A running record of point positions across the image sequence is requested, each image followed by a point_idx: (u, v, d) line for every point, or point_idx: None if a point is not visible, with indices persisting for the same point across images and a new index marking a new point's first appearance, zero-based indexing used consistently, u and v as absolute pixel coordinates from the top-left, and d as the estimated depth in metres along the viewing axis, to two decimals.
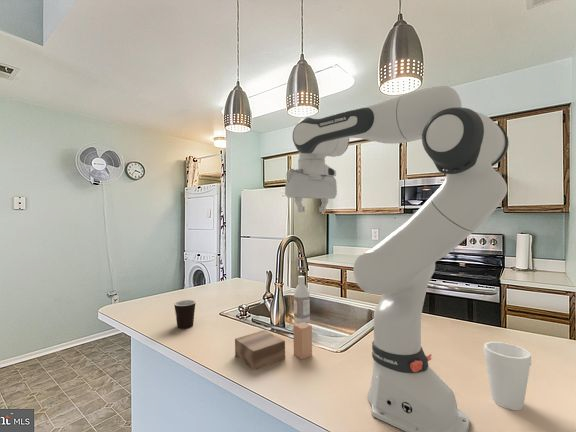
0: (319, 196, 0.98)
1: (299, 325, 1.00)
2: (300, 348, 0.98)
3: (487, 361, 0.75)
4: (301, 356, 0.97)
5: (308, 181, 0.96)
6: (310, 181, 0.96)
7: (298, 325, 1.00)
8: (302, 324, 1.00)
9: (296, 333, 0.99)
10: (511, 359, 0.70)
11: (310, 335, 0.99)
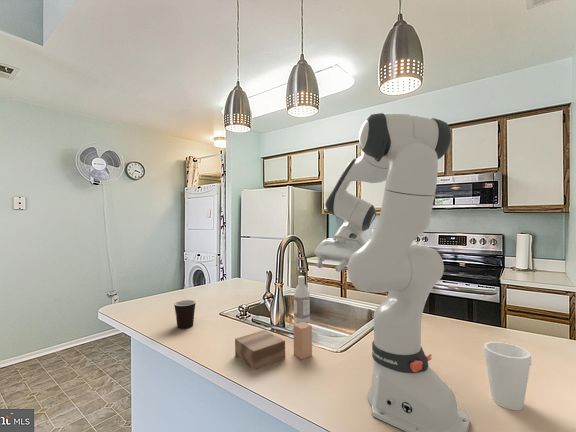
0: (335, 255, 1.08)
1: (299, 325, 1.00)
2: (300, 348, 0.98)
3: (487, 361, 0.75)
4: (301, 356, 0.97)
5: (332, 244, 1.13)
6: (334, 244, 1.13)
7: (298, 325, 1.00)
8: (302, 324, 1.00)
9: (296, 333, 0.99)
10: (511, 359, 0.70)
11: (310, 335, 0.99)
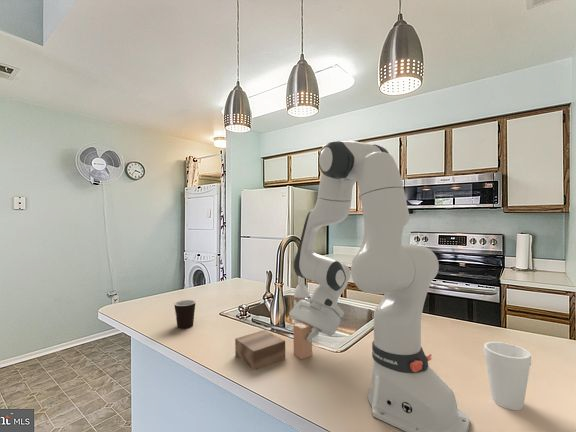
0: (309, 323, 1.00)
1: (299, 325, 1.00)
2: (300, 348, 0.98)
3: (487, 361, 0.75)
4: (301, 356, 0.97)
5: (308, 308, 1.06)
6: (309, 308, 1.05)
7: (298, 325, 1.00)
8: (302, 324, 1.00)
9: (296, 333, 0.99)
10: (511, 359, 0.70)
11: None
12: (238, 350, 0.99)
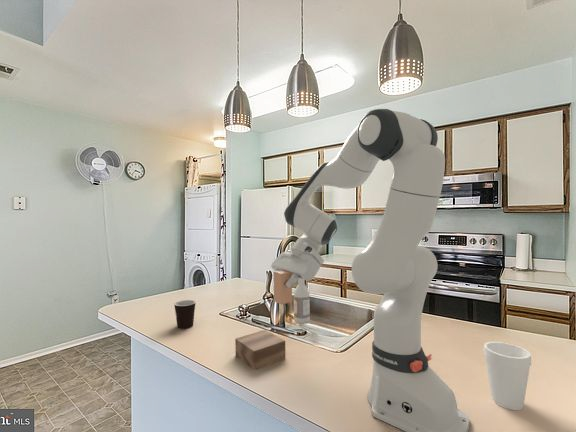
0: (289, 269, 1.00)
1: (279, 272, 1.00)
2: (279, 294, 0.98)
3: (487, 361, 0.75)
4: (280, 301, 0.98)
5: (289, 258, 1.06)
6: (291, 257, 1.05)
7: (278, 272, 1.00)
8: (282, 271, 1.00)
9: (276, 279, 0.99)
10: (511, 359, 0.70)
11: None
12: (238, 350, 0.99)
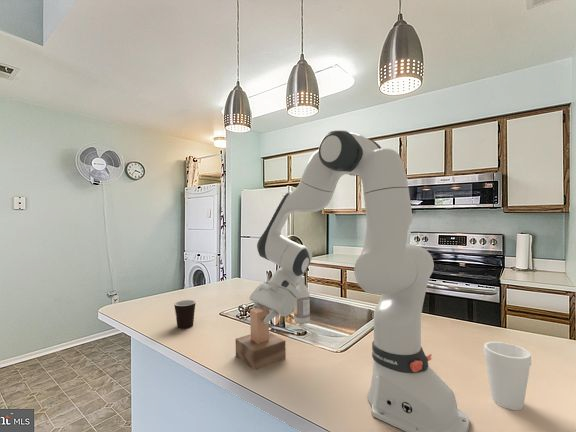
0: (266, 304, 0.99)
1: (255, 310, 0.99)
2: (255, 333, 0.97)
3: (487, 361, 0.75)
4: (257, 341, 0.96)
5: (267, 290, 1.05)
6: (268, 290, 1.04)
7: (254, 310, 0.99)
8: (259, 309, 0.99)
9: (252, 317, 0.98)
10: (511, 359, 0.70)
11: None
12: (238, 350, 0.99)
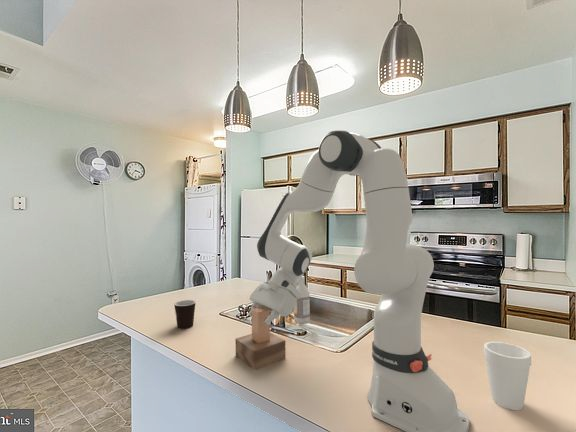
0: (266, 304, 0.99)
1: (257, 309, 0.99)
2: (256, 332, 0.97)
3: (487, 361, 0.75)
4: (257, 340, 0.97)
5: (267, 290, 1.05)
6: (268, 290, 1.04)
7: (256, 309, 0.99)
8: (260, 309, 1.00)
9: (254, 317, 0.99)
10: (511, 359, 0.70)
11: None
12: (238, 350, 0.99)
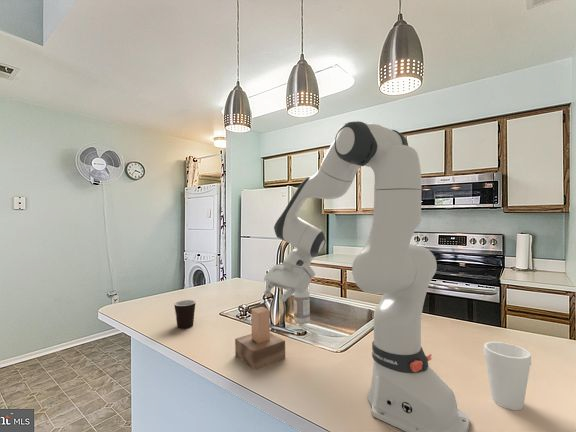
0: (282, 283, 1.03)
1: (257, 309, 0.99)
2: (256, 332, 0.97)
3: (487, 361, 0.75)
4: (257, 340, 0.97)
5: (281, 271, 1.08)
6: (283, 271, 1.08)
7: (256, 309, 0.99)
8: (260, 309, 0.99)
9: (254, 317, 0.98)
10: (511, 359, 0.70)
11: (268, 319, 0.98)
12: (238, 350, 0.99)
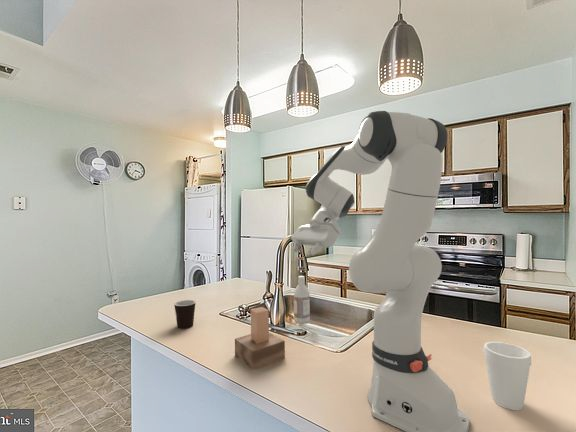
0: (310, 239, 1.08)
1: (256, 309, 0.99)
2: (255, 333, 0.97)
3: (487, 361, 0.75)
4: (256, 340, 0.97)
5: (308, 229, 1.14)
6: (310, 229, 1.13)
7: (255, 309, 0.99)
8: (259, 309, 0.99)
9: (252, 317, 0.98)
10: (511, 359, 0.70)
11: (267, 320, 0.98)
12: (238, 350, 0.99)
